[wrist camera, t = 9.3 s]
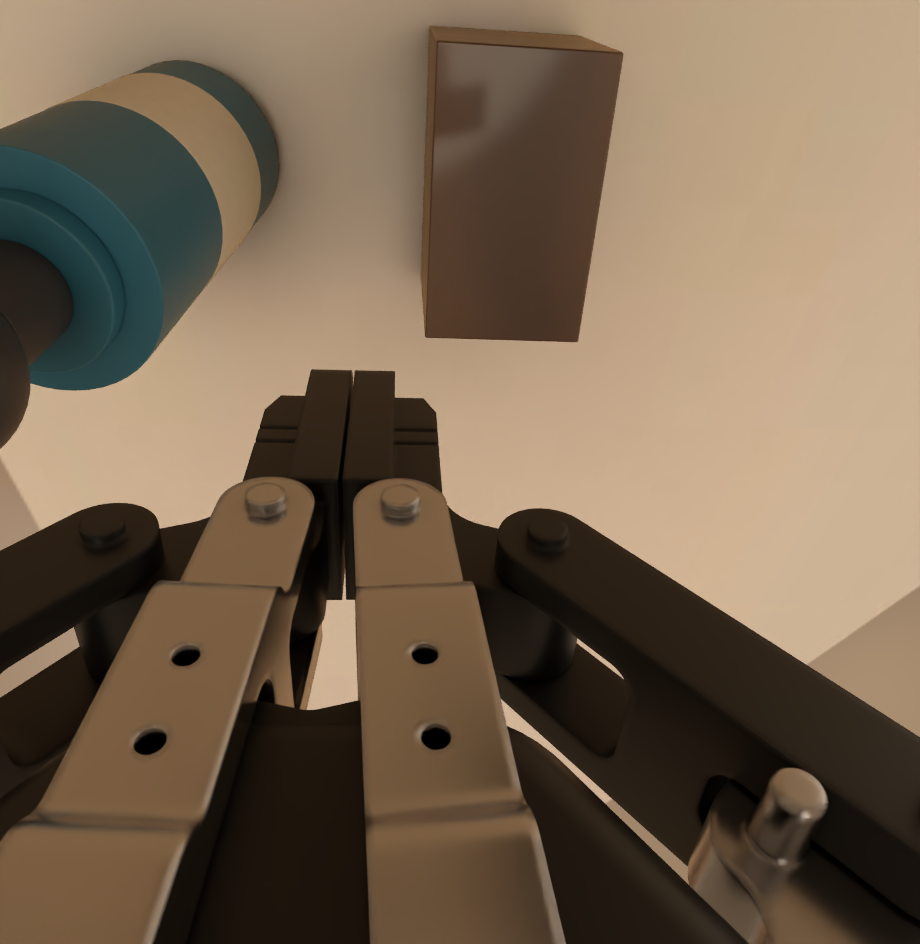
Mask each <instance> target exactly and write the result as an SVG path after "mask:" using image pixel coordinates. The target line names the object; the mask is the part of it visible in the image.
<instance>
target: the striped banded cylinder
mask: <svg viewBox="0 0 920 944" xmlns="http://www.w3.org/2000/svg"><path fill="white" fill-rule="evenodd" d="M278 169H279V163H278V153H277V148H276V143H275V140H274V137H273V134H272V131H271V129H270V126H269V124H268V122H267V120H266V118H265V116H264V115H263V113H262V112H261V110H260V108H259V107H258V106H257V104H256V103H255V102H254V100H253V99H252V98H251V97H250V96H249V95H248V94H247V93H246V92H245V91H244V89H243V88H241V87H240V86H239V85H238V84H237V83H235V82H234V81H233V80H231V79H230V78H228V77H227V76H225V75H224V74H222V73H220V72H218V71H216V70H214V69H212V68H210V67H207V66H204V65H202V64H198V63H194V62H189V61H165V62H161V63H157V64H153V65H151V66H149V67H146V68H144V69H142V70H139V71H137V72H134V73H132V74H130V75H127V76H123V77H121V78H118V79H116V80H114V81H111V82H109V83H107V84H104V85H102V86H99V87H97V88H95V89H92V90H90V91H88V92H85V93H83V94H80V95H78V96H76V97H73V98H71V99H69V100H66V101H64V102H61V103H59V104H57V105H54V106H52V107H50V108H48V109H46V110H44V111H42V112H40V113H37V114H35V115H33V116H30V117H28V118H26V119H23V120H21V121H18V122H16V123H14V124H11V125H9V126H7V127H4V128H2V129H0V449H1V448H2V447H3V446H4V445H5V444H6V443H7V442H8V441H9V439H10V438H11V437H12V435H13V434H14V433H15V431H16V430H17V428H18V426H19V425H20V423H21V421H22V419H23V417H24V414H25V411H26V408H27V406H28V400H29V395H30V383H32V384H35V385H39V386H42V387H47V388H53V389H59V390H90V389H96V388H101V387H105V386H108V385H111V384H114V383H117V382H119V381H121V380H123V379H125V378H127V377H128V376H130V375H131V374H133V373H134V372H135V371H137V370H138V369H139V368H140V367H141V366H142V365H143V364H144V363H145V362H146V361H147V360H148V358H149V357H150V356H151V355H152V353H153V352H154V351H155V350H156V348H157V347H158V346H159V344H160V343H161V342H162V341H163V339H164V338H165V337H166V336H167V334H168V333H169V332H170V331H171V329H172V328H173V327H174V326H175V324H176V323H177V322H178V320H179V319H180V318H181V317H182V315H183V314H184V313H185V312H186V310H187V309H188V308H189V307H190V305H191V304H192V303H193V302H194V300H195V299H196V298H197V296H198V295H199V294H200V293H201V291H202V290H203V289H204V288H205V287H206V286H207V285H208V284H209V282H210V281H211V280H212V279H213V277H214V276H215V275H216V273H217V272H218V271H219V270H220V268H221V267H222V266H223V265H224V263H225V262H226V261H227V260H228V258H229V257H230V256H231V254H232V253H233V252H234V251H235V249H236V248H237V247H238V246H239V244H240V243H241V242H242V241H243V239H244V238H245V237H246V235H247V234H248V232H249V231H250V230H251V228H252V227H253V226H254V224H255V223H256V222H257V221H258V219H259V218H260V217H261V216H262V214H263V213H264V212H265V210H266V209H267V207H268V206H269V204H270V202H271V200H272V198H273V196H274V193H275V189H276V186H277V180H278Z"/></svg>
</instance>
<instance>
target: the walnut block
mask: <svg viewBox="0 0 920 944" xmlns="http://www.w3.org/2000/svg"><path fill="white" fill-rule="evenodd" d="M622 61H623V53H622V52H620V51H618V50H615V49H612V48H610V47H607V46H605V45H602V44H599V43H597V42H594V41H592V40H589V39H586V38H584V37H581V36H575V35H560V34H546V33H531V32H516V31H501V30H486V29H471V28H456V27H441V26H430V27H429V48H428V77H427V107H426V137H425V166H424V196H423V225H422V255H421V285H422V300H423V314H424V328H425V337H427V338H457V339H490V340H524V341H557V342H578V338H579V332H580V326H581V319H582V313H583V307H584V300H585V294H586V288H587V282H588V275H589V269H590V263H591V256H592V250H593V244H594V237H595V231H596V225H597V218H598V212H599V206H600V200H601V193H602V187H603V181H604V174H605V168H606V162H607V155H608V149H609V143H610V136H611V130H612V124H613V118H614V111H615V105H616V99H617V92H618V86H619V80H620V73H621V67H622Z"/></svg>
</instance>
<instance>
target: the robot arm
mask: <svg viewBox="0 0 920 944" xmlns="http://www.w3.org/2000/svg"><path fill="white" fill-rule="evenodd" d="M344 574H346V600H355V612H356V653H357V682H358V701H354V702H349V703H345V704H340V705H336V706H331V707H327V708H322V709H317V710H307V706H308V701H309V697H310V692H311V688H312V683H313V679H314V674H315V670H316V665H317V661H318V656H319V652H320V647H321V643H322V621H323V619H324V616H325V610H326V601H327V600H342V595H343V585H344ZM73 627H74V629H75V632H76V636H77V639H78V642H79V645H80V647H78V648H77V649H75V650H74V651H72V652H71V653H69V654H68V655H66V656H64V657H63V658H61V659H60V660H58V661H57V662H55V663H54V664H52V665H51V666H49V667H47V668H46V669H44V670H43V671H41V672H40V673H38V674H37V675H35V676H34V677H32V678H30V679H29V680H27V681H25V682H24V683H23V684H21V685H19V686H18V687H16V688H15V689H13V690H12V691H10V692H8V693H7V694H5V695H4V696H2V697H1V698H0V944H920V737H918V736H917V735H915V734H914V733H912V732H911V731H909V730H908V729H906V728H904V727H903V726H901V725H900V724H898V723H896V722H895V721H893V720H892V719H890V718H889V717H887V716H886V715H884V714H883V713H881V712H879V711H878V710H876V709H875V708H873V707H872V706H870V705H868V704H867V703H865V702H864V701H862V700H861V699H859V698H858V697H856V696H854V695H853V694H851V693H850V692H848V691H847V690H845V689H843V688H842V687H840V686H838V685H837V684H836V683H834V682H832V681H831V680H829V679H827V678H826V677H824V676H823V675H822V674H820V673H818V672H817V671H815V670H814V669H812V668H810V667H809V666H807V665H806V664H804V663H803V662H801V661H800V660H798V659H796V658H795V657H793V656H792V655H790V654H789V653H787V652H785V651H784V650H782V649H781V648H779V647H778V646H776V645H775V644H773V643H771V642H770V641H768V640H767V639H765V638H764V637H762V636H760V635H759V634H757V633H756V632H754V631H753V630H751V629H749V628H748V627H746V626H745V625H743V624H742V623H740V622H738V621H737V620H735V619H734V618H732V617H731V616H729V615H728V614H726V613H724V612H723V611H721V610H720V609H718V608H717V607H715V606H713V605H712V604H710V603H709V602H707V601H706V600H704V599H702V598H701V597H699V596H698V595H696V594H695V593H693V592H691V591H690V590H688V589H687V588H685V587H684V586H682V585H681V584H679V583H677V582H676V581H674V580H673V579H671V578H670V577H668V576H666V575H665V574H663V573H662V572H660V571H659V570H657V569H655V568H654V567H652V566H651V565H649V564H648V563H646V562H644V561H643V560H641V559H640V558H638V557H637V556H635V555H634V554H632V553H630V552H629V551H627V550H626V549H624V548H623V547H621V546H619V545H618V544H616V543H615V542H613V541H612V540H610V539H608V538H607V537H605V536H604V535H602V534H601V533H599V532H598V531H596V530H594V529H593V528H591V527H590V526H588V525H587V524H585V523H583V522H582V521H580V520H579V519H577V518H575V517H573V516H571V515H569V514H566V513H564V512H560V511H557V510H551V509H542V508H539V509H527V510H522V511H518V512H516V513H514V514H512V515H510V516H508V517H507V518H506V519H505V520H504V521H503V522H502V523H501V525H500V527H499V529H497V528H493V527H488V526H484V525H480V524H477V523H474V522H471V521H468V520H466V519H464V518H462V517H460V516H459V515H457V514H456V513H455V512H453V511H452V510H451V509H450V508H449V507H448V505H447V502H446V499H445V497H444V496H443V494H442V485H441V471H440V458H439V445H438V432H437V418H436V412H435V411H434V410H433V409H432V408H431V407H430V405H429V404H428V403H427V402H426V401H425V400H424V399H423V398H395V371H359V370H355V375H354V384H353V374H352V370H314V369H312V370H311V372H310V377H309V381H308V385H307V390H306V394H305V396H280V397H279V398H278V399H277V400H275V401H274V402H273V403H272V404H271V405H270V406H269V407H267V408H266V409H265V411H264V414H263V418H262V421H261V424H260V429H259V431H258V434H257V437H256V443H255V444H254V447H253V450H252V453H251V457H250V460H249V463H248V466H247V470H246V473H245V476H244V479H243V482H241V483H238V484H236V485H234V486H232V487H231V488H229V489H228V490H227V491H225V492H224V493H223V494H222V495H221V497H220V498H219V500H218V502H217V504H216V506H215V508H214V510H213V512H212V515H211V517H208V518H206V519H203V520H200V521H196V522H192V523H187V524H182V525H177V526H172V527H167V528H162V529H160V528H159V523H158V520H157V518H156V516H155V515H154V514H153V513H152V512H151V511H149V510H148V509H146V508H144V507H141V506H138V505H134V504H128V503H110V504H103V505H97V506H93V507H90V508H87V509H84V510H81V511H79V512H76V513H74V514H72V515H70V516H68V517H66V518H64V519H62V520H60V521H58V522H56V523H54V524H52V525H50V526H48V527H46V528H45V529H43V530H41V531H39V532H37V533H35V534H33V535H31V536H29V537H27V538H25V539H23V540H21V541H19V542H17V543H15V544H13V545H11V546H9V547H7V548H5V549H3V550H1V551H0V674H1V673H2V672H3V671H4V670H5V669H7V668H8V667H10V666H11V665H13V664H15V663H16V662H18V661H19V660H21V659H23V658H24V657H26V656H28V655H29V654H31V653H32V652H34V651H35V650H37V649H39V648H40V647H42V646H44V645H45V644H47V643H48V642H50V641H52V640H53V639H55V638H57V637H58V636H60V635H61V634H63V633H65V632H66V631H68V630H69V629H71V628H73ZM577 638H578V639H579V640H581V641H582V642H583V643H585V644H586V645H587V646H588V647H590V648H591V649H592V650H594V651H595V652H596V653H598V654H599V655H600V656H602V657H603V658H604V659H605V660H607V661H608V662H609V663H611V664H612V665H613V666H614V667H615V668H616V669H617V670H618V671H619V672H620V674H621V675H622V676H623V678H624V679H622V678H621V677H620V676H619V675H617V674H616V673H615V672H613V671H612V670H611V669H609V668H608V667H607V666H606V665H604V664H603V663H602V662H600V661H599V660H598V659H596V658H595V657H594V656H593V655H591V654H590V653H589V652H587V651H586V650H585V649H583V648H582V647H581V646H580V645H578V644H577V643H576V642H577ZM501 699H502V700H503V701H504V702H505V703H506V704H507V705H509V706H510V707H511V708H512V709H513V710H514V711H515V712H516V713H517V714H519V715H520V716H521V717H522V718H523V719H524V720H525V721H526V722H527V723H529V724H530V725H531V726H532V727H533V728H534V729H535V730H536V731H538V732H539V733H540V734H541V735H542V736H543V737H544V738H545V739H546V740H548V741H549V742H550V743H551V744H552V745H553V746H554V747H555V748H556V749H558V750H559V751H560V752H561V753H562V754H563V755H564V756H565V757H566V758H568V759H569V760H570V761H571V762H572V763H573V764H574V765H575V766H576V767H578V768H579V769H580V770H581V771H582V772H583V773H584V774H585V775H586V776H588V777H589V778H590V779H591V780H592V781H593V782H594V783H595V784H596V785H598V786H599V787H600V788H601V789H602V790H603V791H604V792H605V793H607V794H608V795H609V796H610V797H611V798H612V799H613V800H614V801H616V802H617V803H618V804H619V805H620V806H621V807H622V808H623V809H624V810H625V811H627V812H628V813H629V814H630V815H631V816H632V817H633V818H634V819H635V820H637V821H638V822H639V823H640V824H641V825H642V826H643V827H644V828H645V829H647V830H648V831H649V832H650V833H651V834H652V835H653V836H654V837H655V838H657V839H658V840H659V841H660V842H661V843H662V844H663V845H664V846H666V847H667V848H668V849H669V850H670V851H671V852H672V853H673V854H674V855H676V856H677V857H678V858H679V859H680V860H681V861H682V862H683V863H684V864H686V865H687V866H688V880H689V885H688V884H687V883H686V882H685V881H684V880H683V879H682V878H681V877H680V876H679V875H678V874H677V873H676V872H675V871H674V870H673V869H672V868H671V867H670V866H669V865H668V864H666V862H665V861H663V859H661V858H660V857H659V856H658V855H657V854H656V853H655V852H654V851H653V850H652V849H651V848H650V847H649V846H648V845H647V844H646V843H645V842H644V841H643V840H642V839H641V838H640V837H639V836H638V835H637V834H636V833H635V832H634V831H633V830H632V829H630V827H628V826H627V825H626V824H625V823H624V822H623V821H622V820H621V819H620V818H619V817H618V816H617V815H616V814H615V813H614V812H613V811H612V810H611V809H610V808H609V807H608V806H607V805H606V804H605V803H604V802H603V801H602V800H601V799H600V798H599V797H598V796H596V795H595V794H594V793H593V792H592V791H591V790H590V789H589V788H588V787H587V786H586V785H585V784H584V783H583V782H582V781H581V780H580V779H579V778H578V777H577V776H576V775H575V774H574V773H573V772H572V771H571V770H570V769H569V768H568V767H567V766H565V765H564V764H563V763H562V762H561V761H560V760H559V759H558V758H557V757H556V756H555V755H554V754H552V753H551V752H550V751H549V750H547V749H546V748H545V747H543V746H542V745H541V744H539V743H538V742H536V741H535V740H533V739H531V738H530V737H528V736H526V735H524V734H523V733H521V732H519V731H517V730H515V729H512V728H510V727H508V726H507V725H506V720H505V716H504V711H503V707H502V703H501Z"/></svg>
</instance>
